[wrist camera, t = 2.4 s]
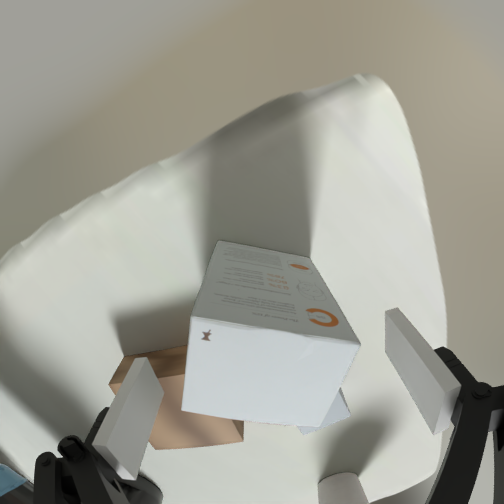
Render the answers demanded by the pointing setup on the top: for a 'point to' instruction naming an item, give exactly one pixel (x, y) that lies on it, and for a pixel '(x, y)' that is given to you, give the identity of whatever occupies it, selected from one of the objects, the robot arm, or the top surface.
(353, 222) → the top surface
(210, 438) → the walnut block
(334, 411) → the grey cube
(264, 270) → the small box
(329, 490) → the coffee cup
